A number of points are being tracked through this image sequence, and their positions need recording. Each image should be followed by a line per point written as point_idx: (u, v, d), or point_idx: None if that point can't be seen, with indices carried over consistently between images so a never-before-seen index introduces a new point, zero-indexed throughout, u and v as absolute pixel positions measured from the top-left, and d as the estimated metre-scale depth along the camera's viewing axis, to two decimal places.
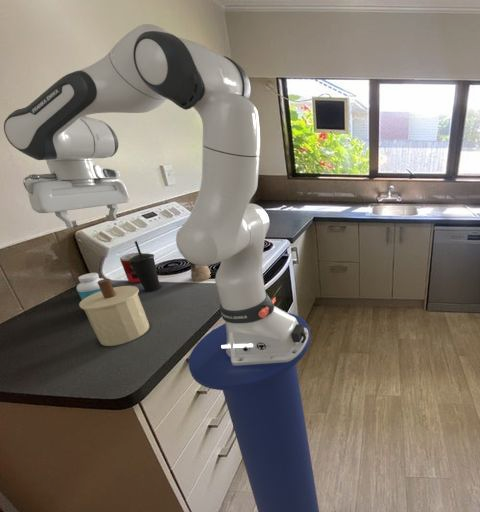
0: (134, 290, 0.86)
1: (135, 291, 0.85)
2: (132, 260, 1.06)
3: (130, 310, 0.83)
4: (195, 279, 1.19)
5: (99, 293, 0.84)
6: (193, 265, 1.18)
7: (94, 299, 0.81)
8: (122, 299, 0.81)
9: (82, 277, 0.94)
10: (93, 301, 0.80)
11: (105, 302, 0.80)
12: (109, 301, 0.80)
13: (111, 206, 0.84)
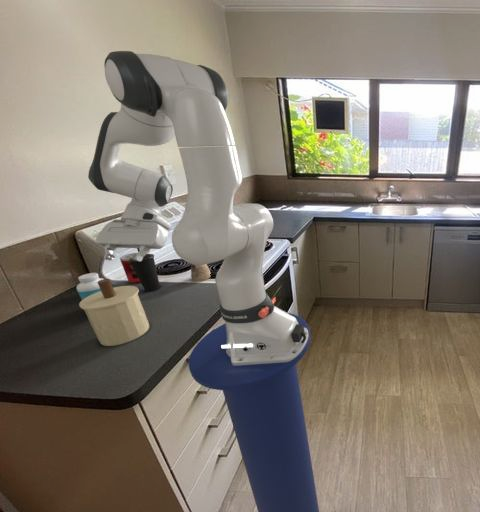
0: (134, 290, 0.86)
1: (135, 291, 0.85)
2: (132, 260, 1.06)
3: (130, 310, 0.83)
4: (195, 279, 1.19)
5: (99, 293, 0.84)
6: (193, 265, 1.18)
7: (94, 299, 0.81)
8: (122, 299, 0.81)
9: (82, 277, 0.94)
10: (93, 301, 0.80)
11: (105, 302, 0.80)
12: (109, 301, 0.80)
13: None
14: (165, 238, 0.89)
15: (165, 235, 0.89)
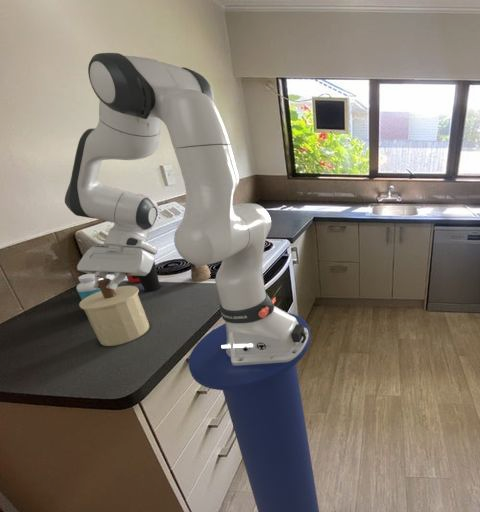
0: (134, 290, 0.86)
1: (135, 291, 0.85)
2: None
3: (130, 310, 0.83)
4: (195, 279, 1.19)
5: (99, 293, 0.84)
6: (193, 265, 1.18)
7: (94, 299, 0.81)
8: (122, 299, 0.81)
9: (82, 277, 0.94)
10: (93, 301, 0.80)
11: (105, 302, 0.80)
12: (109, 301, 0.80)
13: None
14: (150, 264, 0.85)
15: (150, 261, 0.85)
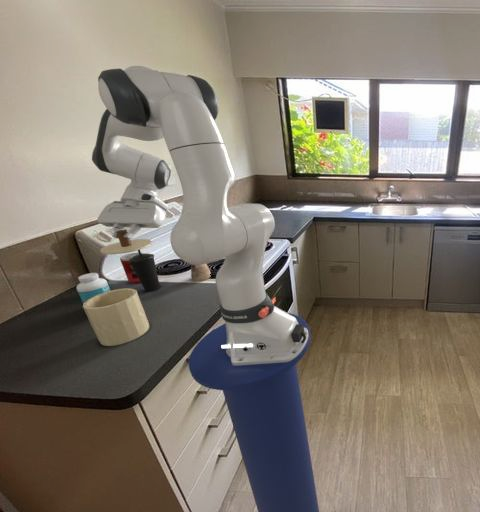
0: (147, 242, 0.96)
1: (148, 242, 0.96)
2: (132, 260, 1.06)
3: (130, 310, 0.83)
4: (195, 279, 1.19)
5: (116, 243, 0.95)
6: (193, 265, 1.18)
7: (113, 247, 0.92)
8: (138, 247, 0.91)
9: (82, 277, 0.94)
10: (112, 248, 0.90)
11: (123, 249, 0.90)
12: (126, 248, 0.90)
13: None
14: (162, 218, 0.95)
15: (162, 215, 0.95)
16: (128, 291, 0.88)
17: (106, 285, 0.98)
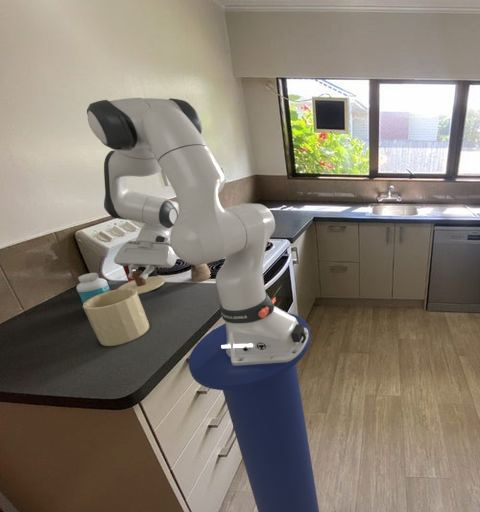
0: (161, 280, 1.02)
1: (162, 280, 1.01)
2: None
3: (130, 310, 0.83)
4: (195, 279, 1.19)
5: (131, 282, 1.00)
6: (193, 265, 1.18)
7: (129, 287, 0.97)
8: (152, 287, 0.97)
9: (82, 277, 0.94)
10: None
11: (138, 289, 0.96)
12: (141, 288, 0.96)
13: None
14: (175, 258, 1.01)
15: (175, 255, 1.01)
16: (128, 291, 0.88)
17: (106, 285, 0.98)
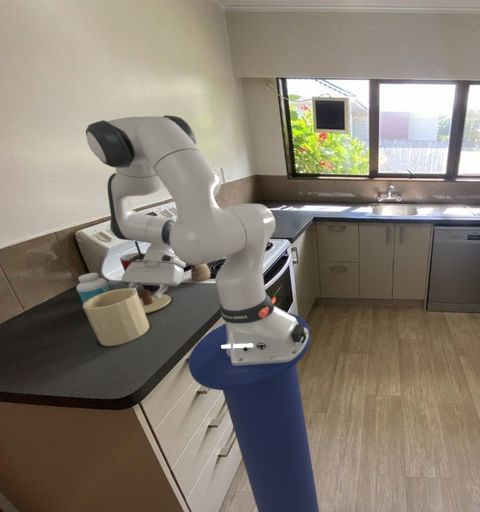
0: (167, 298, 1.05)
1: (168, 299, 1.04)
2: (132, 260, 1.06)
3: (130, 310, 0.83)
4: (195, 279, 1.19)
5: None
6: (193, 265, 1.18)
7: None
8: (159, 306, 1.00)
9: (82, 277, 0.94)
10: None
11: (145, 308, 0.98)
12: (149, 307, 0.99)
13: None
14: (181, 276, 1.03)
15: (181, 274, 1.03)
16: (128, 291, 0.88)
17: (106, 285, 0.98)
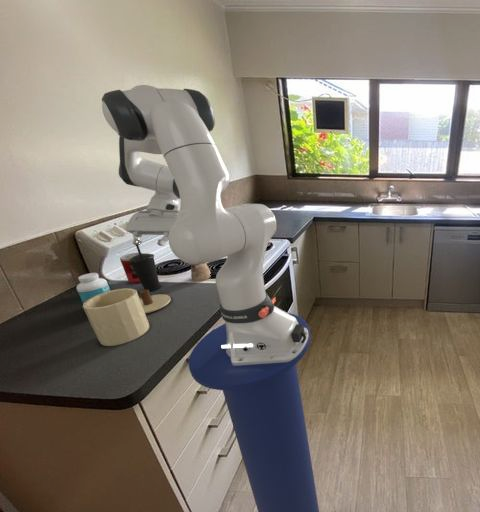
0: (167, 298, 1.05)
1: (168, 299, 1.04)
2: (132, 260, 1.06)
3: (130, 310, 0.83)
4: (195, 279, 1.19)
5: None
6: (193, 265, 1.18)
7: None
8: (159, 306, 1.00)
9: (82, 277, 0.94)
10: None
11: (145, 308, 0.98)
12: (149, 307, 0.99)
13: None
14: None
15: None
16: (128, 291, 0.88)
17: (106, 285, 0.98)
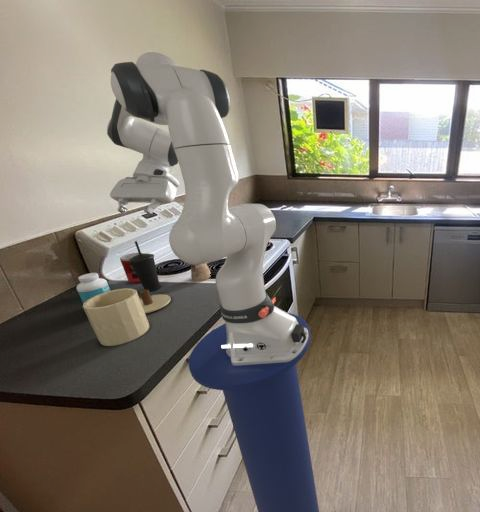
0: (167, 298, 1.05)
1: (168, 299, 1.04)
2: (132, 260, 1.06)
3: (130, 310, 0.83)
4: (195, 279, 1.19)
5: None
6: (193, 265, 1.18)
7: None
8: (159, 306, 1.00)
9: (82, 277, 0.94)
10: None
11: (145, 308, 0.98)
12: (149, 307, 0.99)
13: None
14: (174, 193, 0.96)
15: (174, 191, 0.96)
16: (128, 291, 0.88)
17: (106, 285, 0.98)
